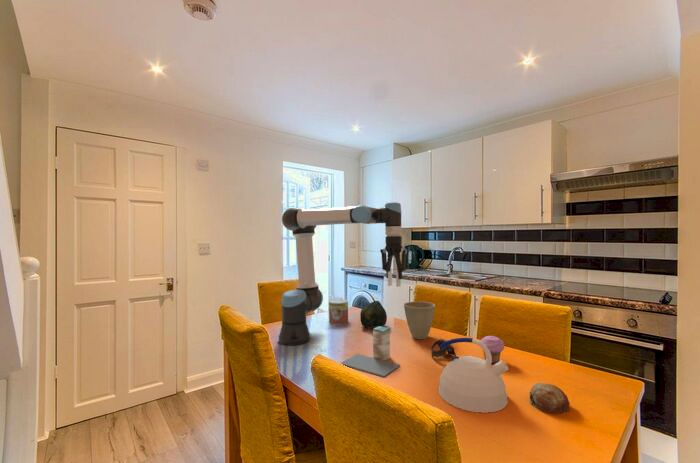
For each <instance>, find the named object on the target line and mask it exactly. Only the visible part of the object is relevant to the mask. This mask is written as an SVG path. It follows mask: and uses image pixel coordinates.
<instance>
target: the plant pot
mask: <svg viewBox="0 0 700 463" xmlns="http://www.w3.org/2000/svg"><path fill="white" fill-rule="evenodd" d="M403 307H404V308H403V309H404V315H405V320H406V322H407V327H408V329H409V331H410V335H411V337H412V338H413V339H416V340H417V339H418V340H425V339H427V338H428V337H429V334H430V330H431V328H432V324H433V320H434V316H435V314H434V313H435V307H436V305H435V303H432V302H428V301H409V302H404V303H403Z"/></svg>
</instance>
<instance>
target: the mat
mask: <svg viewBox="0 0 700 463" xmlns="http://www.w3.org/2000/svg"><path fill="white" fill-rule="evenodd" d="M340 363H342V364H344V365H346V366H345V367H347V366H348V367H347V368H351V369H355V370H359V371H361V370H362V371H361V372H364V371H366V372H365V373H368V372H369V374H371V373H372V374H371V375H374V374H375V376H379V377H382V378H386V377H387V376H388V375H390V374H391V373H393V372H394V371H395V370H396V369H399V367H400V366H401V364H399V363H396V362H391V361H388V360H385V361H384V360H381V359H377V358H373V356H368V355H364V354H361V353H356V354H355V355H353V356H351V357H348V358H347V359H345V360H343V361H340ZM344 365H343V366H344Z"/></svg>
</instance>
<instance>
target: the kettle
mask: <svg viewBox="0 0 700 463" xmlns="http://www.w3.org/2000/svg"><path fill="white" fill-rule="evenodd" d="M457 343H471V344H472V343H473V344H474V345H477V346H478V347H480V348H481V349H482V351H483V350H484V351H483V353H484V352H485V355H486V360H485V359H483V358H480V357H476V356H471V355H468V356H467V355H466V356H457V355H456V356H454V355H453V356H452V357H451V359H450V360H451V361H449V362H448V364H447V365H446V366H444V367H443V370H442V372H441V374H440V376H439V385H438V386H439V388H438V394H439V395H440V397H441V398H442V399H443V400H444V401H445V402H446V403H447V404H449V405H450V406H452V407H455V408H457V409H460V410H463V411H467V412H472V413H479V412H481V413H483V414H485V413H488V412H489V413H494V412H495V413H496V412H498V411H501V410H503V409H504V408H506V407H507V405H508V396H507V388H506V386H507V385H506V383H505V381H504V379H503V377H502V375H503V374H504V373H506V372H508V371H509V367H508V365H507V364H506V362H505V361H504V360H502V359H500V361H499V362H498V363H492V356H491V353H490V350H489V349H488V348H487V346H486V345H485V344H483V343H482V342H481V341H480V340H479V339H477V338H473V337H456V338H451V339H449V340H446V342H444V343H442V344H441V345H439V347H440V348H442V349H443V348H445V347H446V346H448V345H450V344H451V345H453V344H457ZM439 347H438V348H439ZM440 348H439V349H440ZM455 358H456V359H455ZM492 364H493V365H492Z"/></svg>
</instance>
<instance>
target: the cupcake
mask: <svg viewBox="0 0 700 463" xmlns="http://www.w3.org/2000/svg"><path fill="white" fill-rule="evenodd" d="M479 341H481V342H482V343H483V344H485V345H486V346H487V348H488V349H489V350H490V353H491V356H492V363H491V364H496V363H498V362H500V360H501V359H500V358H501V353H502V352H503V351H504V349H505V343H504V342H503V340H501V339H500V338H499V337H497V336H494V335H487V336H484V337H482V338H481V339H480V340H479ZM482 351H483V356H484V360H486V355H485V352H484V350H483V349H482Z"/></svg>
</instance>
